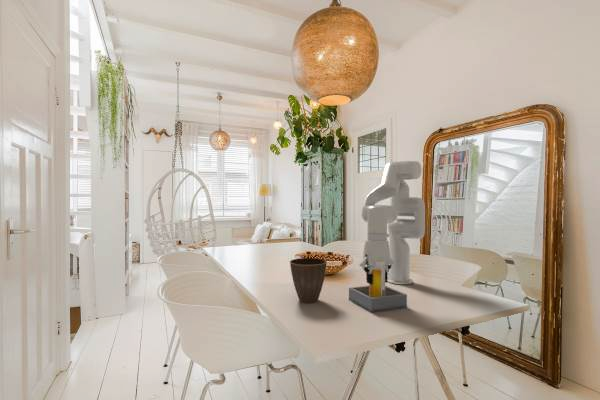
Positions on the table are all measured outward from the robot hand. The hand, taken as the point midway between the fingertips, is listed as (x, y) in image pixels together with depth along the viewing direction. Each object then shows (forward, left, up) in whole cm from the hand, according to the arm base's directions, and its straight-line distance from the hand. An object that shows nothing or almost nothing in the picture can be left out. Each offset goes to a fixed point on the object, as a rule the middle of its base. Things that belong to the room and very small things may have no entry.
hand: (377, 282), depth 126 cm
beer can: (0, 0, -6) cm, 6 cm away
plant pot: (-13, -24, -9) cm, 29 cm away
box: (0, 0, -8) cm, 8 cm away
